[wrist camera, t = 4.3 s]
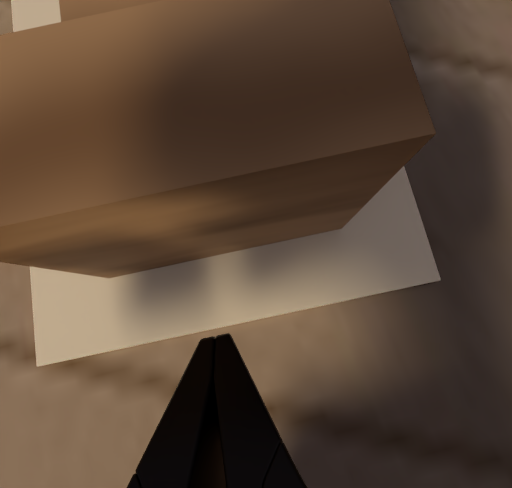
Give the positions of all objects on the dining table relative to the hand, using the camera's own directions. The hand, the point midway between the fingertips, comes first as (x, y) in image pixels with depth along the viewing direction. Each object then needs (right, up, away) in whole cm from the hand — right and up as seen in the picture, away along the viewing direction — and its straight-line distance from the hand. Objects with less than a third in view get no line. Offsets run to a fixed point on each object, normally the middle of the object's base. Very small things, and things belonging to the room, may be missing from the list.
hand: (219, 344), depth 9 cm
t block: (-2, +10, +8) cm, 13 cm away
